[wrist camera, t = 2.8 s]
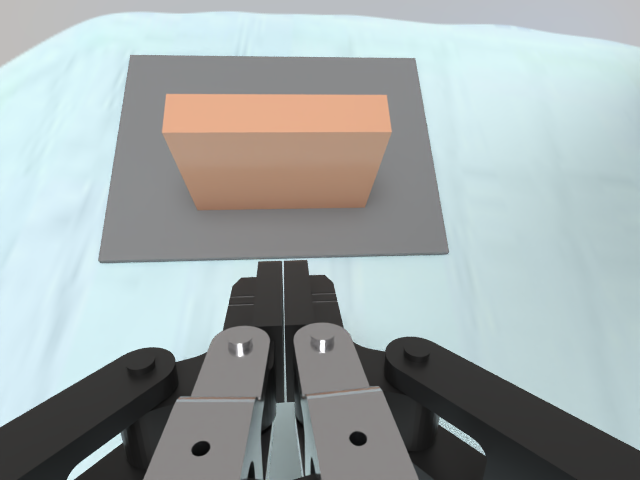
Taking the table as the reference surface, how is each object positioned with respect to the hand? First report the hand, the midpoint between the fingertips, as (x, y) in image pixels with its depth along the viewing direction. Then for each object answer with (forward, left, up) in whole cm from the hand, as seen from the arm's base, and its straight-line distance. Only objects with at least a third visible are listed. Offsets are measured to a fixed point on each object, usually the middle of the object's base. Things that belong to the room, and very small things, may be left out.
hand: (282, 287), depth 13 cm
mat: (-4, -15, -15) cm, 22 cm away
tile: (-3, -11, -15) cm, 19 cm away
